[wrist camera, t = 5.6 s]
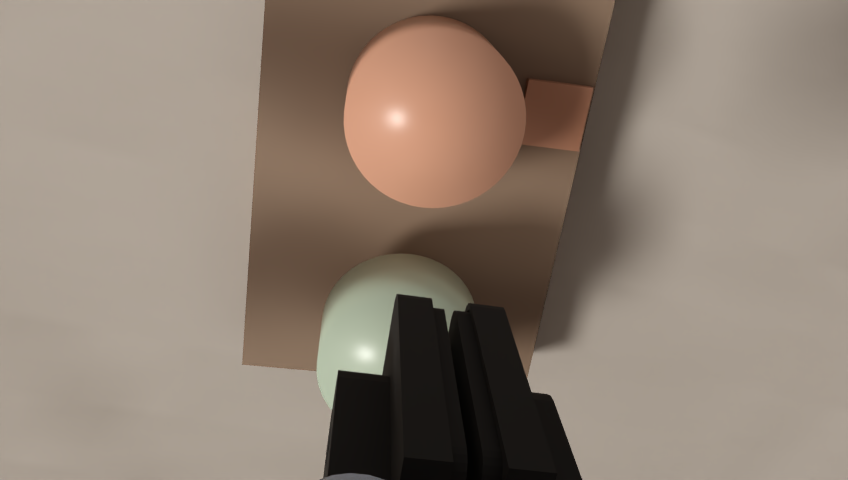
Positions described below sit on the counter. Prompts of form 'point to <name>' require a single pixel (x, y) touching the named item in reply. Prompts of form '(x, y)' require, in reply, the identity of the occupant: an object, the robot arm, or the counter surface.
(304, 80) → the button board
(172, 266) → the counter surface
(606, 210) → the counter surface
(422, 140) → the button terracotta
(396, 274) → the button sage
